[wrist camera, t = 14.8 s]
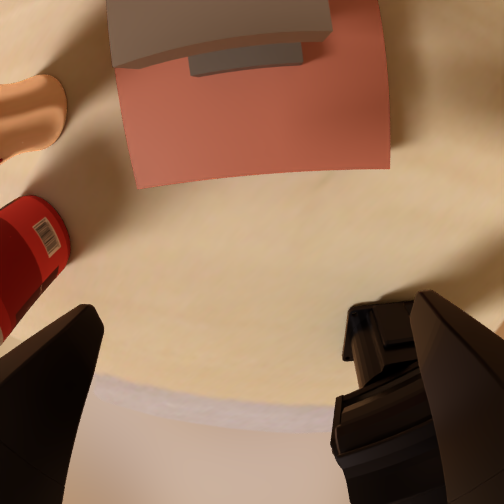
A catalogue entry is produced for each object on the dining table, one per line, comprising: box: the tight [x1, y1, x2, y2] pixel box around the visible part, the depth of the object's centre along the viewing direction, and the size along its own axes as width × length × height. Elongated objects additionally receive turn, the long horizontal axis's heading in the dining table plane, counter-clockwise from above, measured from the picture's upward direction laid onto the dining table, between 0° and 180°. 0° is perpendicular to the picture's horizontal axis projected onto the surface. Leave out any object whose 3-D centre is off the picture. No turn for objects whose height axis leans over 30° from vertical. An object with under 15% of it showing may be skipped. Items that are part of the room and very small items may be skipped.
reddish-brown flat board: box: [115, 0, 390, 189], centre depth 12 cm, size 18×14×3 cm
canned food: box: [0, 195, 71, 345], centre depth 17 cm, size 8×8×11 cm
